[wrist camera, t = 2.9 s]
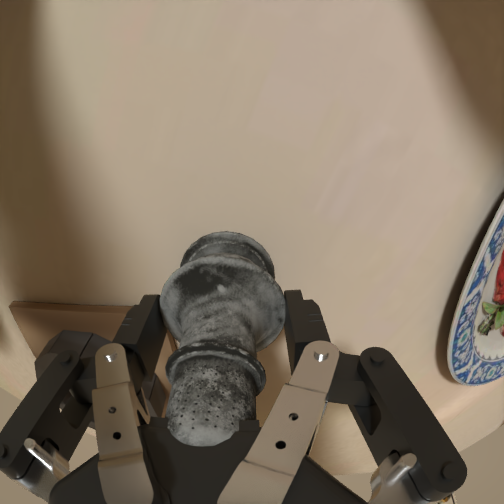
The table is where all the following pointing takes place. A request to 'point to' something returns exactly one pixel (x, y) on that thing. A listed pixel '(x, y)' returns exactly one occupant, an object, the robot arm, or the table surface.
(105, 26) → the table surface
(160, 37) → the table surface
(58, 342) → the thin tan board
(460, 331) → the ceramic plate
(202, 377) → the chess piece
